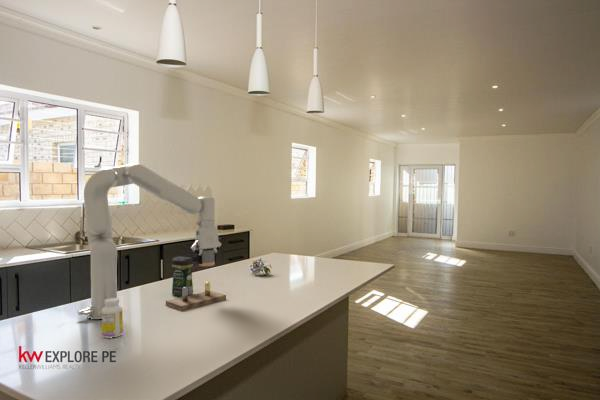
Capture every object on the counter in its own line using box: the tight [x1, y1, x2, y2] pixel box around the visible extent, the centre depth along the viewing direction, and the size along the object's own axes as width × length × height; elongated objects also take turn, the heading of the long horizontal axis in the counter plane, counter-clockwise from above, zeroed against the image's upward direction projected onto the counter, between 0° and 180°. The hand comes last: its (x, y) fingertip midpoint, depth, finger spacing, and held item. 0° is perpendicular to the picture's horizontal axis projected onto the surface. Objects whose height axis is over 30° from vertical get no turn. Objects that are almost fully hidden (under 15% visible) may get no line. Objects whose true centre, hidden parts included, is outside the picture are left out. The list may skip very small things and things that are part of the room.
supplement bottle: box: [101, 297, 124, 339], centre depth 144 cm, size 7×7×13 cm
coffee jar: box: [171, 256, 194, 297], centre depth 199 cm, size 10×8×19 cm
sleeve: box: [198, 249, 216, 267], centre depth 187 cm, size 7×7×7 cm
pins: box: [181, 281, 211, 301], centre depth 186 cm, size 14×2×6 cm, turn 139°
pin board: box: [165, 290, 227, 312], centre depth 186 cm, size 24×12×2 cm, turn 139°
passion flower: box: [247, 257, 273, 277], centre depth 244 cm, size 11×11×12 cm
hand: (206, 262), depth 188 cm, fingers closed on sleeve, 6 cm apart
